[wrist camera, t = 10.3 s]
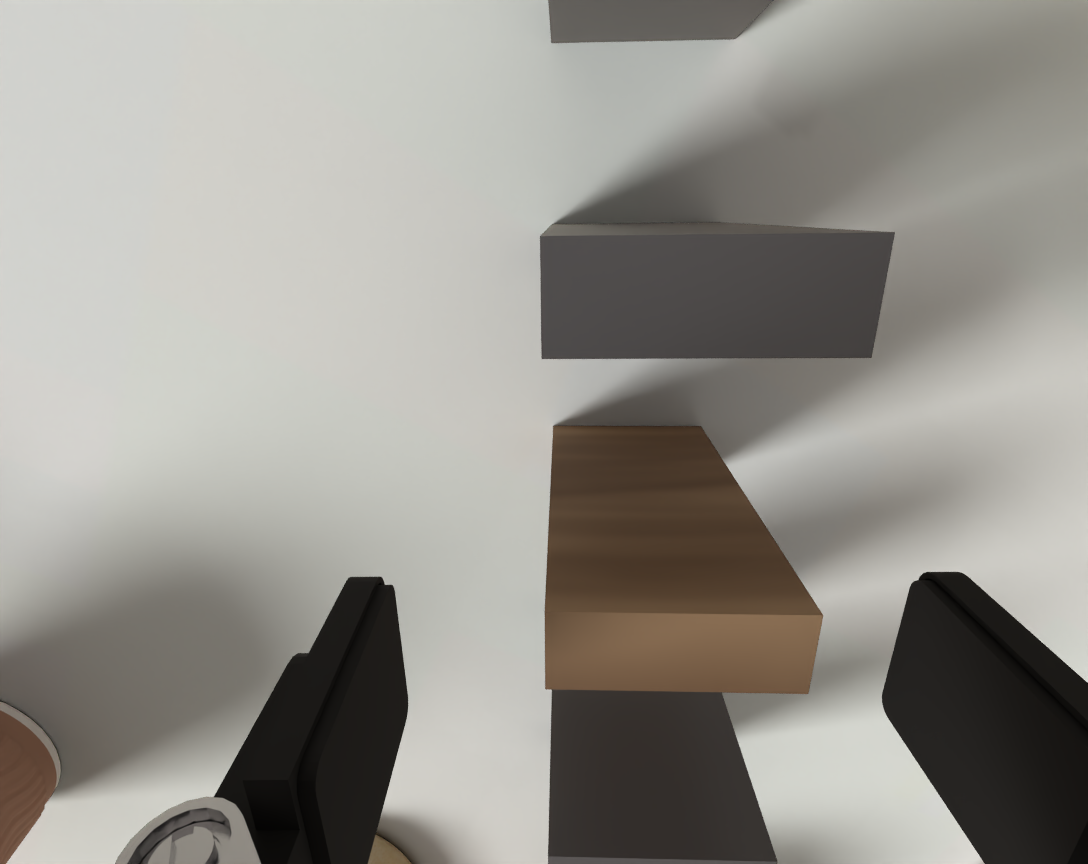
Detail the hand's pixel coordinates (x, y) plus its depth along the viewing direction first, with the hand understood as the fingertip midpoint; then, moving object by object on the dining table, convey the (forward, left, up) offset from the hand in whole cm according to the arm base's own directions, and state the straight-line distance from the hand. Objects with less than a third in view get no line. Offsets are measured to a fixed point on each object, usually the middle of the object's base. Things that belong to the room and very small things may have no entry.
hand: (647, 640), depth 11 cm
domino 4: (+7, +1, -10) cm, 12 cm away
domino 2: (-6, +1, -10) cm, 12 cm away
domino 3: (0, +1, -10) cm, 10 cm away
